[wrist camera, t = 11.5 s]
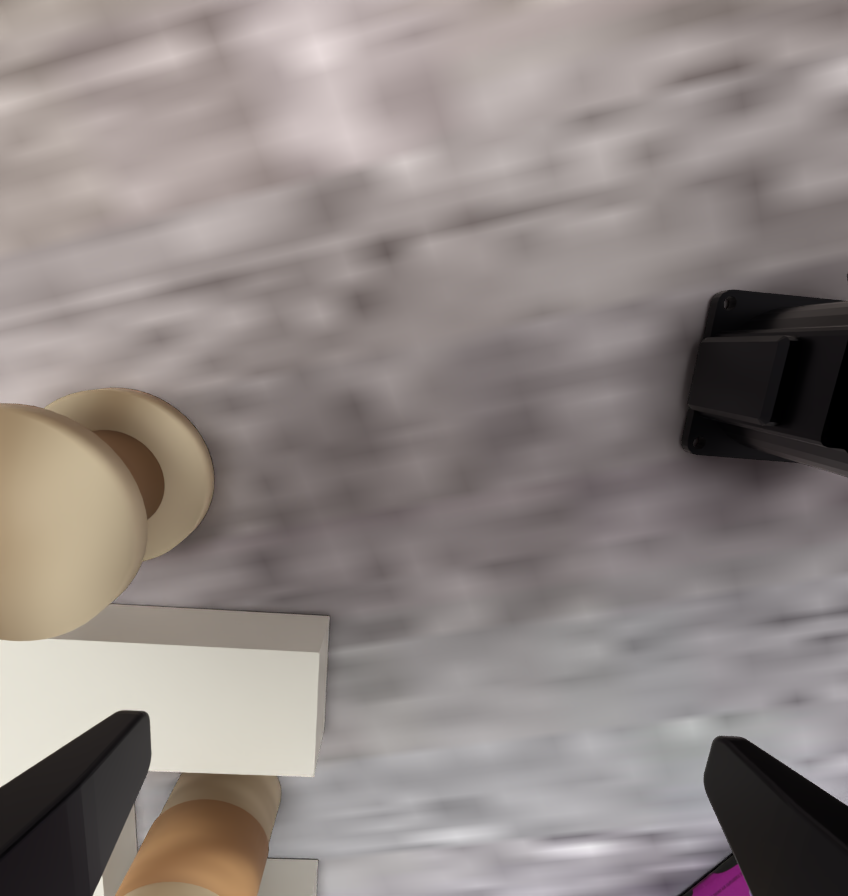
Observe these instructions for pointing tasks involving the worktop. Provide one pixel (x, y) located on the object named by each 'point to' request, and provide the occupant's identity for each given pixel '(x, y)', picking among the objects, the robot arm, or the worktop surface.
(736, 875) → the candy bar box
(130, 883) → the copper spool
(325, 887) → the worktop surface
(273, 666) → the notched board
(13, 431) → the bobbin
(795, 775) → the robot arm
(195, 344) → the worktop surface
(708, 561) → the worktop surface
